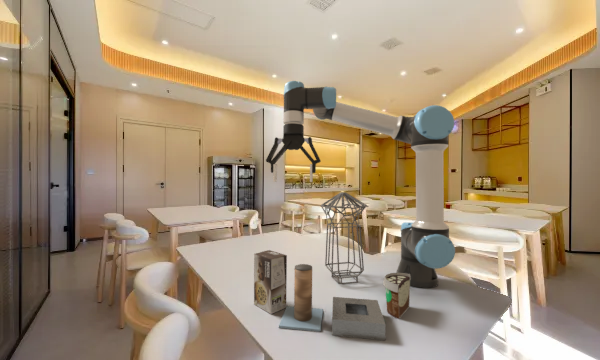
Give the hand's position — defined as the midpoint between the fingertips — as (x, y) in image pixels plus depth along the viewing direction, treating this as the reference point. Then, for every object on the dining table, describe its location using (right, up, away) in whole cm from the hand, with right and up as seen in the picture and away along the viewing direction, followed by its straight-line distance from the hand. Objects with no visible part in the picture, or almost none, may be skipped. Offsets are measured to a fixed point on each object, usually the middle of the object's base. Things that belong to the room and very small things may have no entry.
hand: (292, 182), depth 95 cm
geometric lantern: (+20, -39, +8) cm, 45 cm away
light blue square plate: (+3, -39, -23) cm, 45 cm away
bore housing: (+18, -39, -25) cm, 49 cm away
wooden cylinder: (+3, -38, -23) cm, 44 cm away
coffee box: (-7, -39, -15) cm, 42 cm away
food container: (+31, -39, -17) cm, 53 cm away
